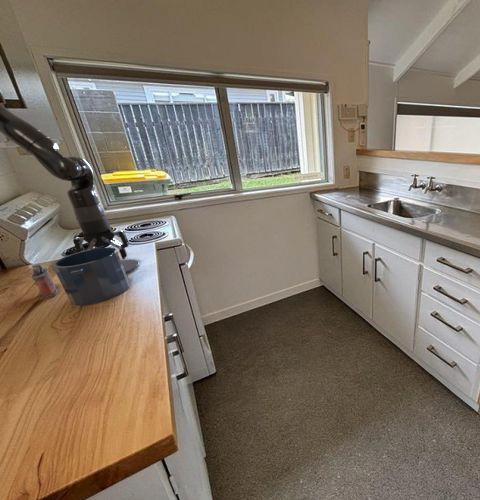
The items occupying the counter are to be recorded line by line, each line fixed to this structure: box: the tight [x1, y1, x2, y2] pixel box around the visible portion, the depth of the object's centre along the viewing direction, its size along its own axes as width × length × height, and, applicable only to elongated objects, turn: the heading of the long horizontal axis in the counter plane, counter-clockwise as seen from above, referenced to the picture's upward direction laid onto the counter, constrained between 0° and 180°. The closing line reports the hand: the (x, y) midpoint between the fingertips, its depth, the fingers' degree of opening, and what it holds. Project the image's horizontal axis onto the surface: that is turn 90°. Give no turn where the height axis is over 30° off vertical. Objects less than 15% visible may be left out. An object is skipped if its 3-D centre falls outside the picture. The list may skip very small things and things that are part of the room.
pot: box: [51, 247, 131, 307], centre depth 87 cm, size 15×20×12 cm
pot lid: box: [121, 259, 140, 274], centre depth 103 cm, size 16×16×6 cm
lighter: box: [31, 263, 59, 300], centre depth 88 cm, size 8×3×10 cm, turn 40°
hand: (110, 261), depth 103 cm, fingers open, 8 cm apart
